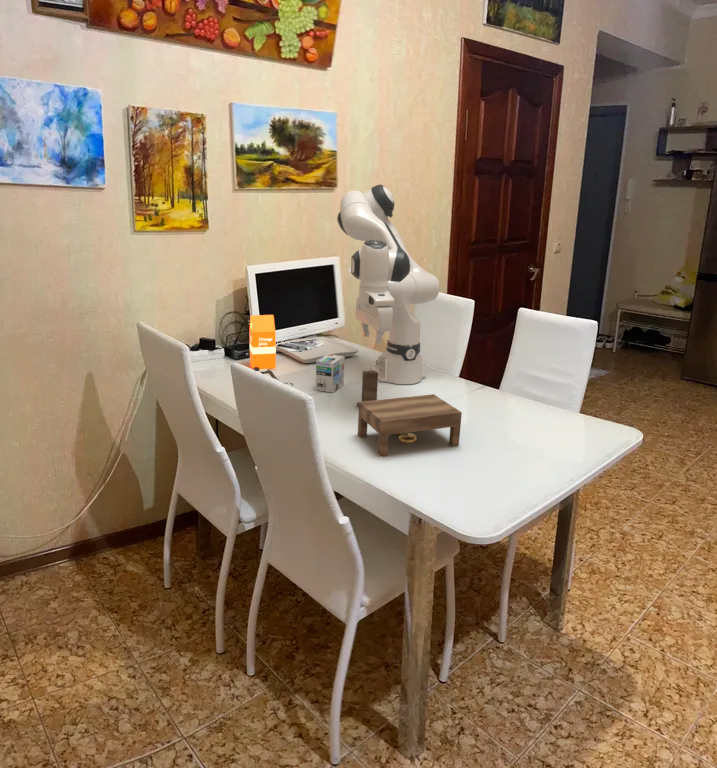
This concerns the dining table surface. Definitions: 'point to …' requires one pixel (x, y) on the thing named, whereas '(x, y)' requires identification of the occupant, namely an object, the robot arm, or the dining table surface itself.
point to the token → (407, 438)
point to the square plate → (319, 350)
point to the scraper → (369, 386)
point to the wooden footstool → (408, 418)
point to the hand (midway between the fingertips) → (371, 339)
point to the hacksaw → (268, 372)
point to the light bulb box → (330, 373)
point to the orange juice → (262, 342)
